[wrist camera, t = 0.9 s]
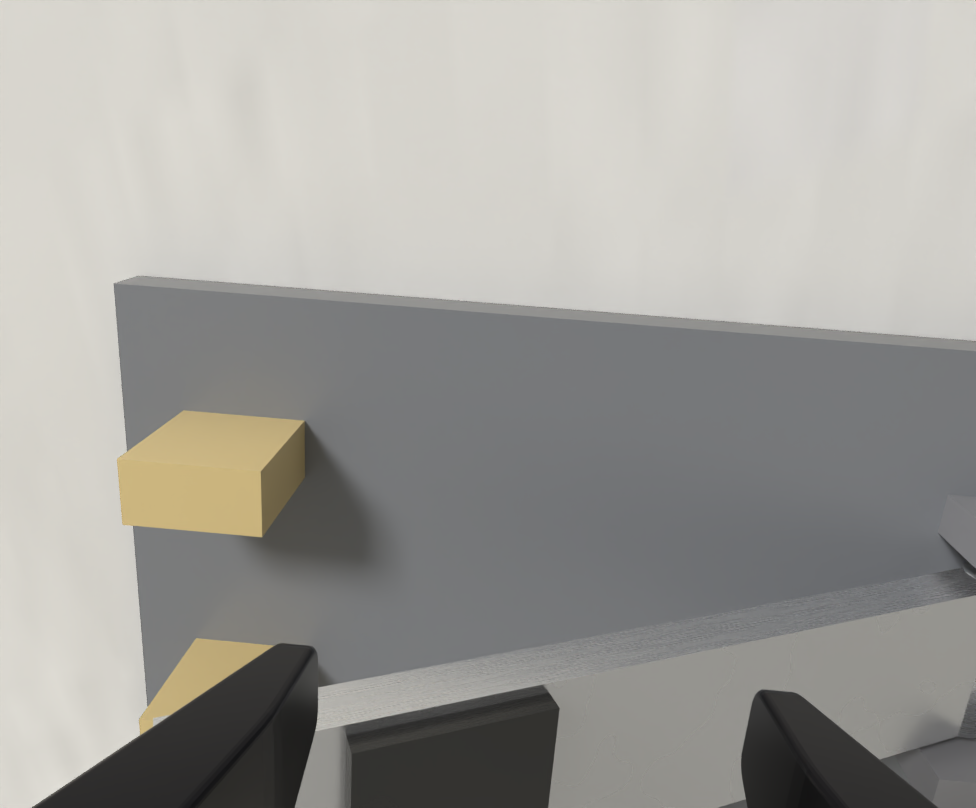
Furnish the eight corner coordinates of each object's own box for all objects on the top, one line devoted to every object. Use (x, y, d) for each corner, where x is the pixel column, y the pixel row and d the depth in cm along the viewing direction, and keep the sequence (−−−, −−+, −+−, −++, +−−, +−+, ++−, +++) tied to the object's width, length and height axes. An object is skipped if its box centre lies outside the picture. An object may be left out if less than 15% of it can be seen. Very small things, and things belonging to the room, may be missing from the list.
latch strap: (990, 557, 19) (1056, 591, 18) (949, 694, 20) (1007, 736, 19) (153, 709, 12) (152, 785, 11) (167, 904, 13) (169, 994, 12)
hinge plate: (1131, 353, 19) (1303, 411, 14) (977, 817, 23) (1075, 966, 19) (138, 275, 19) (29, 309, 15) (170, 737, 24) (92, 862, 20)
